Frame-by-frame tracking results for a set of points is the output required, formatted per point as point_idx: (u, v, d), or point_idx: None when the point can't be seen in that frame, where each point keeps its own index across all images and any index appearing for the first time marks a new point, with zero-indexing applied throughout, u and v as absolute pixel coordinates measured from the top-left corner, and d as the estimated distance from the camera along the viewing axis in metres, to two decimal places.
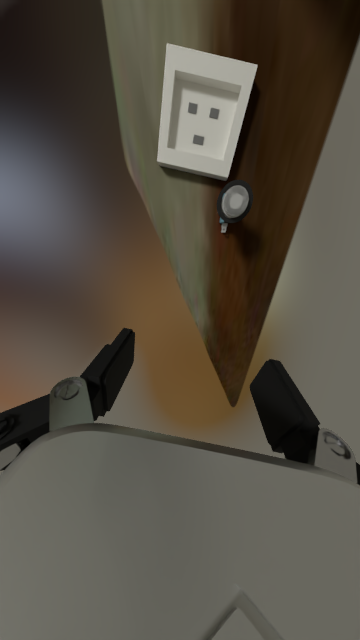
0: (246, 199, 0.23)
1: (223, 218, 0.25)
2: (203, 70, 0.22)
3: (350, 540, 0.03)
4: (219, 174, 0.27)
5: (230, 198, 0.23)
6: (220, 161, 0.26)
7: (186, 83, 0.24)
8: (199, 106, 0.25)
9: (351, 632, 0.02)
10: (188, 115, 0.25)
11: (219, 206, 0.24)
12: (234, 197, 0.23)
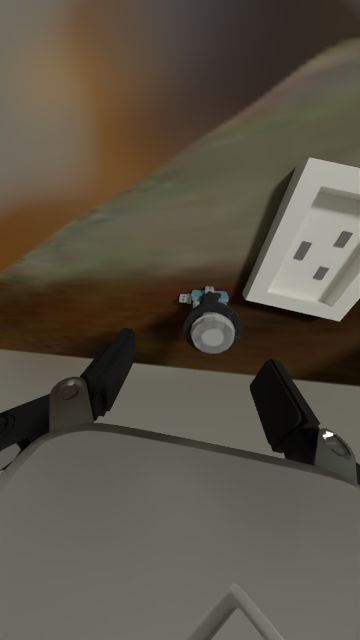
0: (213, 351, 0.14)
1: (190, 316, 0.14)
2: None
3: (350, 540, 0.03)
4: (252, 288, 0.18)
5: (218, 329, 0.13)
6: (267, 288, 0.18)
7: None
8: (339, 250, 0.17)
9: (351, 632, 0.02)
10: (338, 232, 0.16)
11: (209, 309, 0.13)
12: (218, 335, 0.13)
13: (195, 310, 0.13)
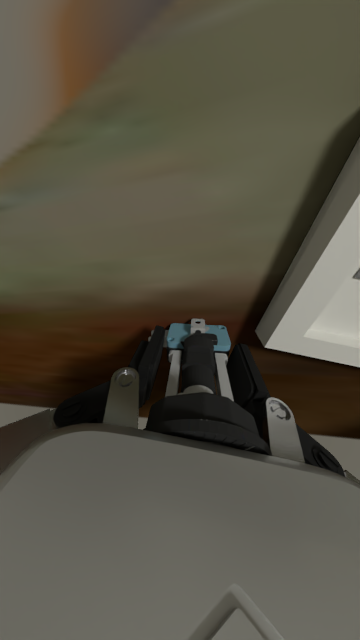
0: None
1: None
2: None
3: (350, 540, 0.03)
4: (277, 329, 0.10)
5: None
6: (304, 330, 0.10)
7: None
8: None
9: (351, 632, 0.02)
10: None
11: (188, 436, 0.05)
12: None
13: None
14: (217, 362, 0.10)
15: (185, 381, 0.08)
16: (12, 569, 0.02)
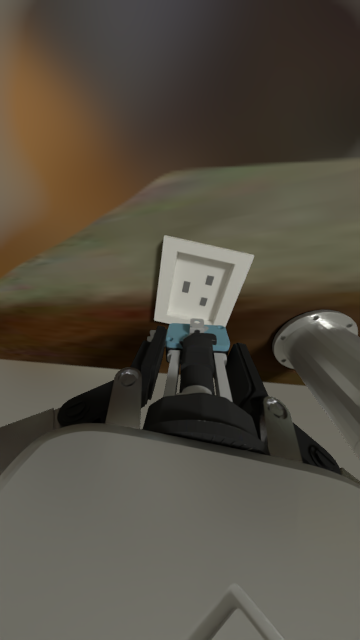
0: None
1: None
2: (228, 293, 0.23)
3: (350, 540, 0.03)
4: (155, 312, 0.25)
5: None
6: (165, 312, 0.25)
7: (227, 273, 0.23)
8: (210, 287, 0.24)
9: (351, 632, 0.02)
10: (205, 275, 0.23)
11: (185, 437, 0.05)
12: None
13: None
14: (216, 362, 0.10)
15: (184, 381, 0.08)
16: (12, 569, 0.02)
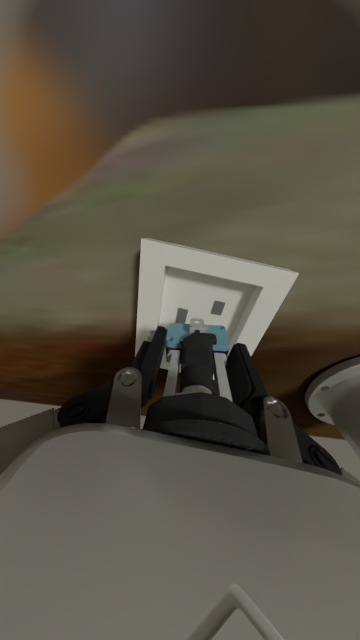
0: None
1: None
2: (248, 330, 0.14)
3: (350, 540, 0.03)
4: (136, 352, 0.17)
5: None
6: None
7: (247, 298, 0.14)
8: (218, 317, 0.15)
9: (351, 632, 0.02)
10: (211, 301, 0.15)
11: (185, 437, 0.05)
12: None
13: None
14: (216, 362, 0.10)
15: (184, 381, 0.08)
16: (12, 569, 0.02)
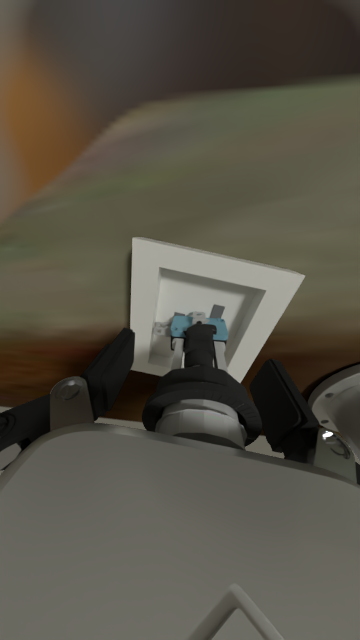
0: None
1: (152, 403, 0.06)
2: (249, 336, 0.13)
3: (350, 540, 0.03)
4: None
5: None
6: (146, 360, 0.16)
7: (248, 302, 0.13)
8: None
9: (351, 632, 0.02)
10: (210, 305, 0.14)
11: (191, 395, 0.06)
12: None
13: (162, 395, 0.06)
14: (216, 349, 0.11)
15: (187, 363, 0.10)
16: (12, 569, 0.02)
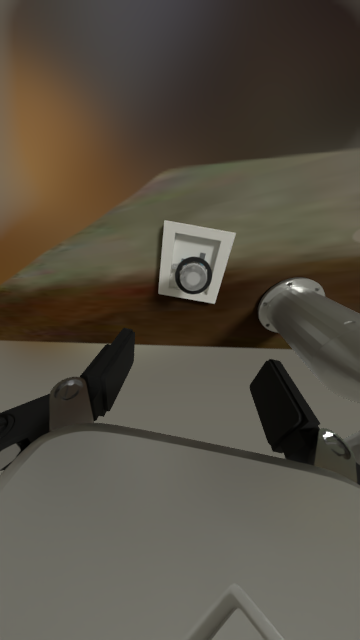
0: (194, 289, 0.22)
1: (178, 266, 0.21)
2: (217, 266, 0.28)
3: (350, 540, 0.03)
4: (159, 286, 0.31)
5: (196, 272, 0.21)
6: (167, 286, 0.31)
7: (216, 250, 0.28)
8: None
9: (351, 632, 0.02)
10: (198, 253, 0.29)
11: (190, 260, 0.21)
12: (196, 276, 0.21)
13: (181, 261, 0.21)
14: None
15: None
16: (12, 569, 0.02)
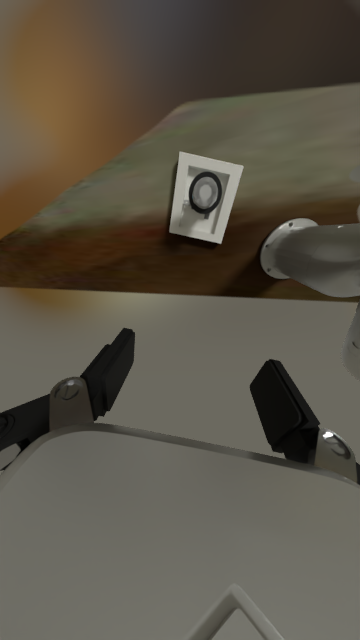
0: (205, 204, 0.24)
1: (192, 182, 0.24)
2: (225, 202, 0.31)
3: (350, 540, 0.03)
4: (170, 224, 0.34)
5: (208, 185, 0.23)
6: (178, 223, 0.33)
7: (224, 187, 0.31)
8: None
9: (351, 632, 0.02)
10: None
11: (203, 175, 0.23)
12: (208, 189, 0.23)
13: (195, 177, 0.24)
14: None
15: None
16: (12, 569, 0.02)
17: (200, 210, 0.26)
